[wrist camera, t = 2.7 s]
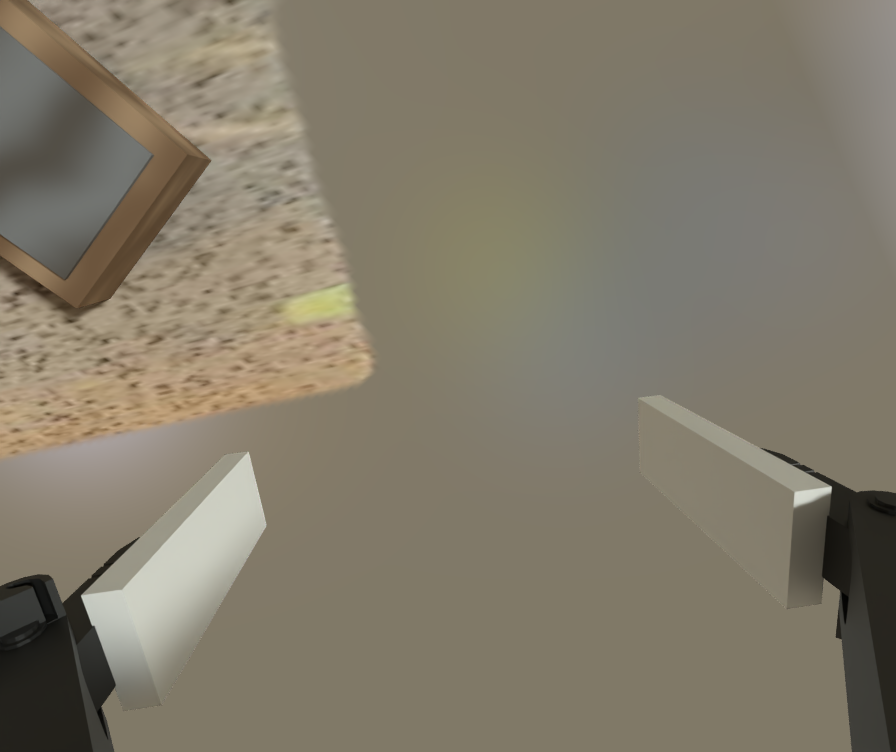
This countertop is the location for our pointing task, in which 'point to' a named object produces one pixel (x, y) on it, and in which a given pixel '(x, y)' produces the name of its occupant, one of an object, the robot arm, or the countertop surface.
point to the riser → (79, 163)
